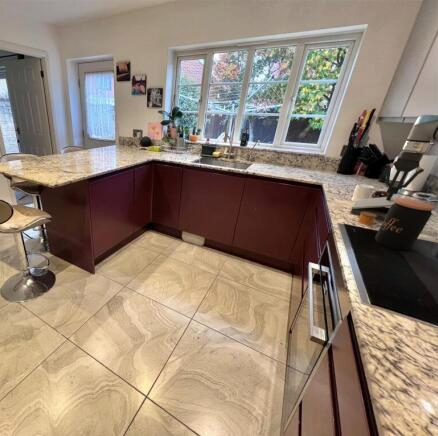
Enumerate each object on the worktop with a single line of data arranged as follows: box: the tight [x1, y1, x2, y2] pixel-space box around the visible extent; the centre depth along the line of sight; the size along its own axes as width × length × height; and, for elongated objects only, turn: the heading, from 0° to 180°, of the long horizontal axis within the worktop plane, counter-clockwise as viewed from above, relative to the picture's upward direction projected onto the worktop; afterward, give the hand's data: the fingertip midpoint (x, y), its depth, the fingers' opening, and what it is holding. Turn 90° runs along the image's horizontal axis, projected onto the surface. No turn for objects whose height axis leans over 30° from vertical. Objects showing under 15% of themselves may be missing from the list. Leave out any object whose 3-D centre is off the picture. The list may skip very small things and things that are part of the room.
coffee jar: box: [374, 197, 437, 252], centre depth 90 cm, size 11×11×18 cm
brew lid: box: [351, 195, 401, 210], centre depth 120 cm, size 16×19×1 cm
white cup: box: [351, 183, 375, 203], centre depth 139 cm, size 8×8×10 cm
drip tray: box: [350, 207, 390, 222], centre depth 122 cm, size 15×19×3 cm
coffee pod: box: [357, 212, 377, 226], centre depth 110 cm, size 6×6×5 cm
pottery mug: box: [370, 190, 389, 198], centre depth 140 cm, size 12×10×8 cm
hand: (388, 199), depth 116 cm, fingers closed
